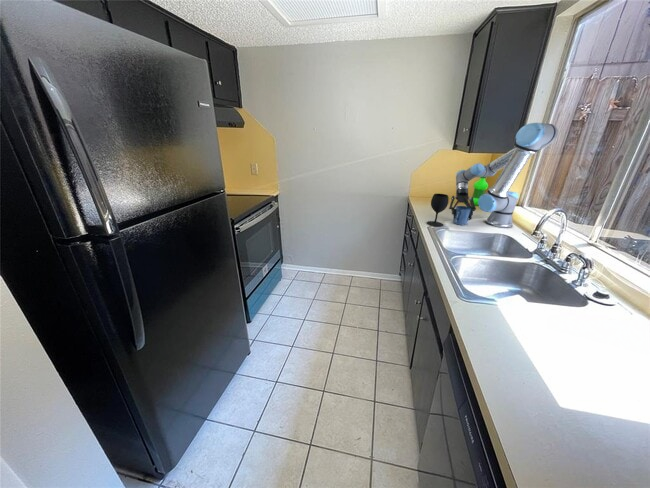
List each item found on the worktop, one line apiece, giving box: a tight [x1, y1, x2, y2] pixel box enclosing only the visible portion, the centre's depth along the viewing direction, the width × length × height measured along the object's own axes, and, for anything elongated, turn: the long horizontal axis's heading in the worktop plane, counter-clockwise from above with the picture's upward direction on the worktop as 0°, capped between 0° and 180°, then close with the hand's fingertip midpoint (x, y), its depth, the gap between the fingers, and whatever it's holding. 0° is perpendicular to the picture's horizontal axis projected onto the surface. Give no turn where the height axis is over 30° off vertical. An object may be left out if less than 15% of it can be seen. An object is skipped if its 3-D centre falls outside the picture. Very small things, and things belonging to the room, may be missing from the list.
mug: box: [452, 205, 471, 226], centre depth 175 cm, size 12×9×11 cm
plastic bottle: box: [472, 177, 489, 207], centre depth 220 cm, size 10×10×25 cm
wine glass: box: [426, 193, 450, 228], centre depth 170 cm, size 10×10×20 cm
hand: (462, 218), depth 174 cm, fingers closed on mug, 9 cm apart
